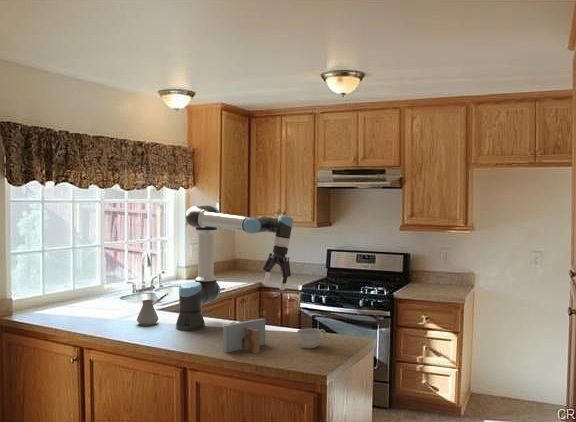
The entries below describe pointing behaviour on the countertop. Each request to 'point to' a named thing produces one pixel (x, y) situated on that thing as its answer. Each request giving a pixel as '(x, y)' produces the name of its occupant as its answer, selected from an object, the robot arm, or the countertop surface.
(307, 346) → the teacup
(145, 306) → the coffee pot
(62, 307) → the countertop surface
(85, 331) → the countertop surface
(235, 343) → the slate plate
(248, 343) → the walnut board
